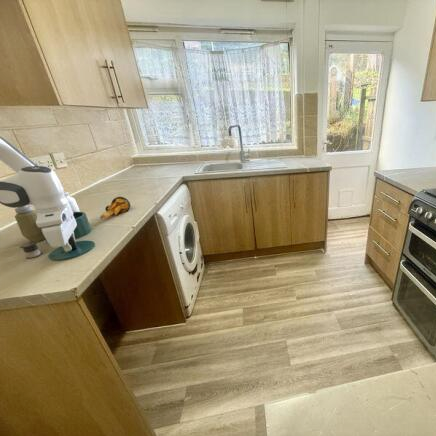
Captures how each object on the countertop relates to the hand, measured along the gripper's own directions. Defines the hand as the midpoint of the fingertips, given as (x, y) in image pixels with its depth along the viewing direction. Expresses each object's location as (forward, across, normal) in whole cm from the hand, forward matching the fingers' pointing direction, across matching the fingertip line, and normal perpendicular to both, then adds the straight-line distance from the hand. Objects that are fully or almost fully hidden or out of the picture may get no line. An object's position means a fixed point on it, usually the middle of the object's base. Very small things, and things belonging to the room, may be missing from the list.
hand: (70, 246), depth 91 cm
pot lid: (+2, 0, 0) cm, 2 cm away
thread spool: (+2, -4, -12) cm, 13 cm away
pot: (+2, -18, -3) cm, 18 cm away
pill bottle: (+2, -35, -6) cm, 36 cm away
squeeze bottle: (+2, -21, -15) cm, 26 cm away
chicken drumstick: (+2, -34, +12) cm, 36 cm away
